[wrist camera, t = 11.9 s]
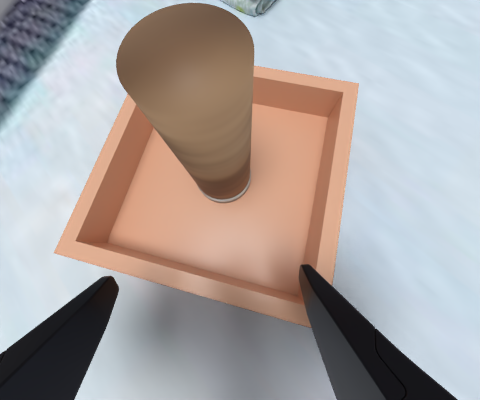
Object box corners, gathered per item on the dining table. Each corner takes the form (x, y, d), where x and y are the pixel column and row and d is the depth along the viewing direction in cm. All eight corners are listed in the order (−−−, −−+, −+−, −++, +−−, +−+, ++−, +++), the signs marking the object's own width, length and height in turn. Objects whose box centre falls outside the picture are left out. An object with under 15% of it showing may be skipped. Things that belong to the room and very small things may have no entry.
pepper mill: (261, 182, 19) (287, 62, 7) (217, 214, 18) (158, 143, 6) (230, 144, 20) (205, -18, 8) (187, 172, 19) (89, 43, 7)
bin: (338, 114, 21) (358, 83, 17) (307, 313, 17) (325, 332, 13) (165, 81, 23) (149, 47, 19) (94, 252, 18) (53, 253, 15)
